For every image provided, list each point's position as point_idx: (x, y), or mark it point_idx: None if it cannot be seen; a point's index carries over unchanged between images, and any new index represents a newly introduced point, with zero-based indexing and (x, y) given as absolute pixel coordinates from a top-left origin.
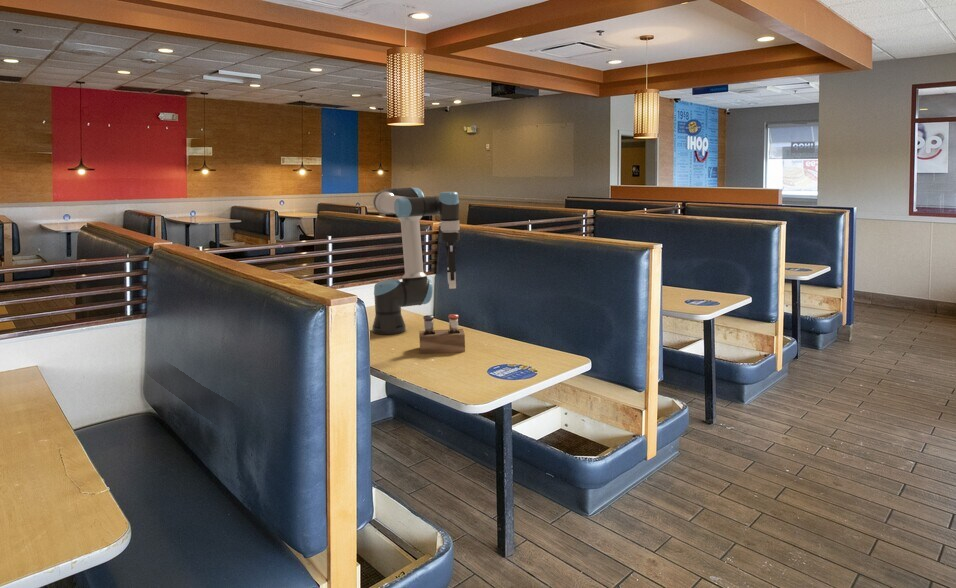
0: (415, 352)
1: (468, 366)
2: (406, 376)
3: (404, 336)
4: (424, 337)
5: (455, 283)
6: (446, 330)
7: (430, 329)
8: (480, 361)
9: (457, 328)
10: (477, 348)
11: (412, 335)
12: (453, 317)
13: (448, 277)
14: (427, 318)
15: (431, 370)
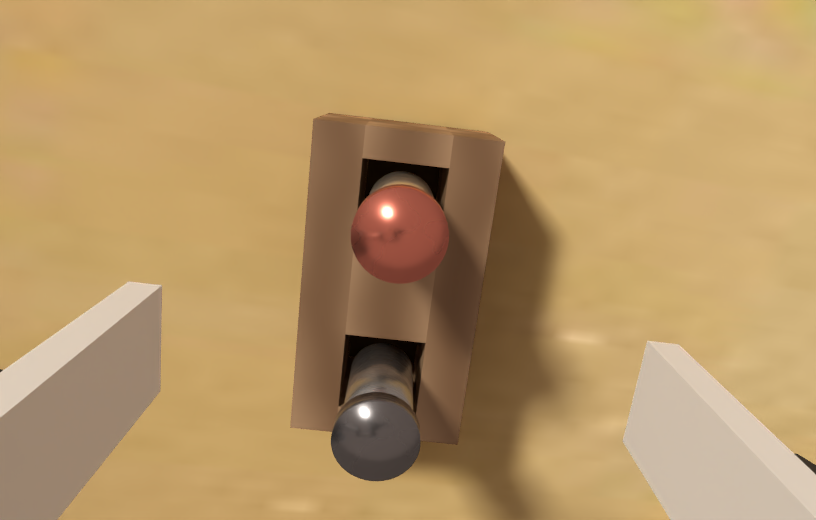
0: None
1: (788, 171)
2: None
3: None
4: (461, 411)
5: (718, 391)
6: (335, 250)
7: (412, 386)
8: (723, 80)
9: (425, 186)
10: (427, 33)
11: None
12: (447, 241)
13: (113, 436)
14: (417, 451)
15: (768, 369)
